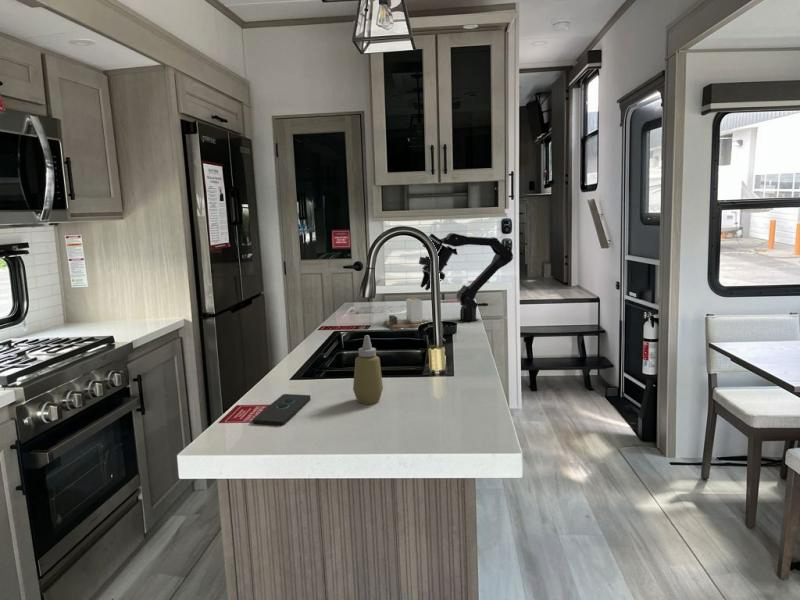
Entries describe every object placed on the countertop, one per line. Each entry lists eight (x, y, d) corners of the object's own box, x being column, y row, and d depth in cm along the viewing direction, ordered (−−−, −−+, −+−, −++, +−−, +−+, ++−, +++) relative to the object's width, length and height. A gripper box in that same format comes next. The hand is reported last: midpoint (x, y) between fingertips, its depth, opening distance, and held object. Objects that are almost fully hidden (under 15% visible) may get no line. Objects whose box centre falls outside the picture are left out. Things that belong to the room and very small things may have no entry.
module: (416, 319, 261) (416, 295, 259) (422, 322, 254) (422, 298, 252) (406, 320, 259) (406, 296, 257) (411, 323, 252) (411, 298, 251)
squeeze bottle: (389, 399, 157) (388, 334, 154) (372, 408, 150) (371, 340, 147) (364, 394, 161) (362, 331, 158) (347, 403, 154) (345, 337, 152)
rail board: (421, 320, 265) (421, 311, 264) (432, 326, 252) (432, 316, 251) (383, 323, 260) (383, 314, 259) (393, 329, 247) (392, 319, 246)
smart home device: (311, 394, 158) (283, 421, 138) (312, 400, 158) (283, 428, 139) (283, 393, 159) (251, 419, 140) (283, 399, 160) (251, 426, 140)
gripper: (422, 247, 265) (404, 276, 265) (432, 250, 247) (412, 281, 247) (442, 260, 267) (424, 289, 268) (453, 263, 249) (434, 294, 250)
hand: (423, 288), depth 258 cm, fingers open, 9 cm apart
